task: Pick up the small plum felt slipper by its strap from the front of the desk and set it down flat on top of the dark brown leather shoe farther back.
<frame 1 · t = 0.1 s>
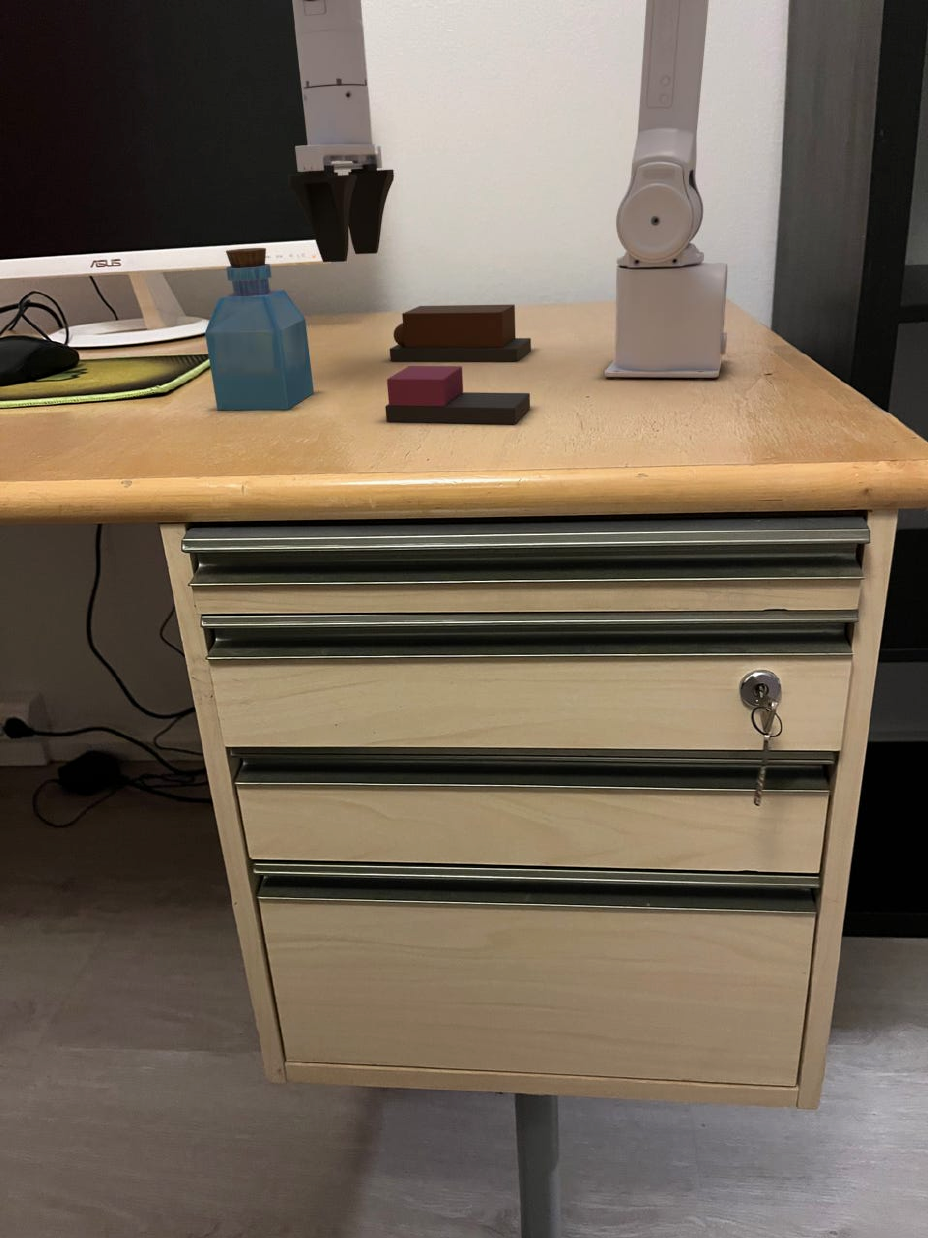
hand: (351, 257, 87), 10 cm above the table, tool pointing down, fingers open, 7 cm apart
perfume bottle: (267, 403, 81), on the table
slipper: (459, 414, 73), on the table
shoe: (461, 355, 96), on the table
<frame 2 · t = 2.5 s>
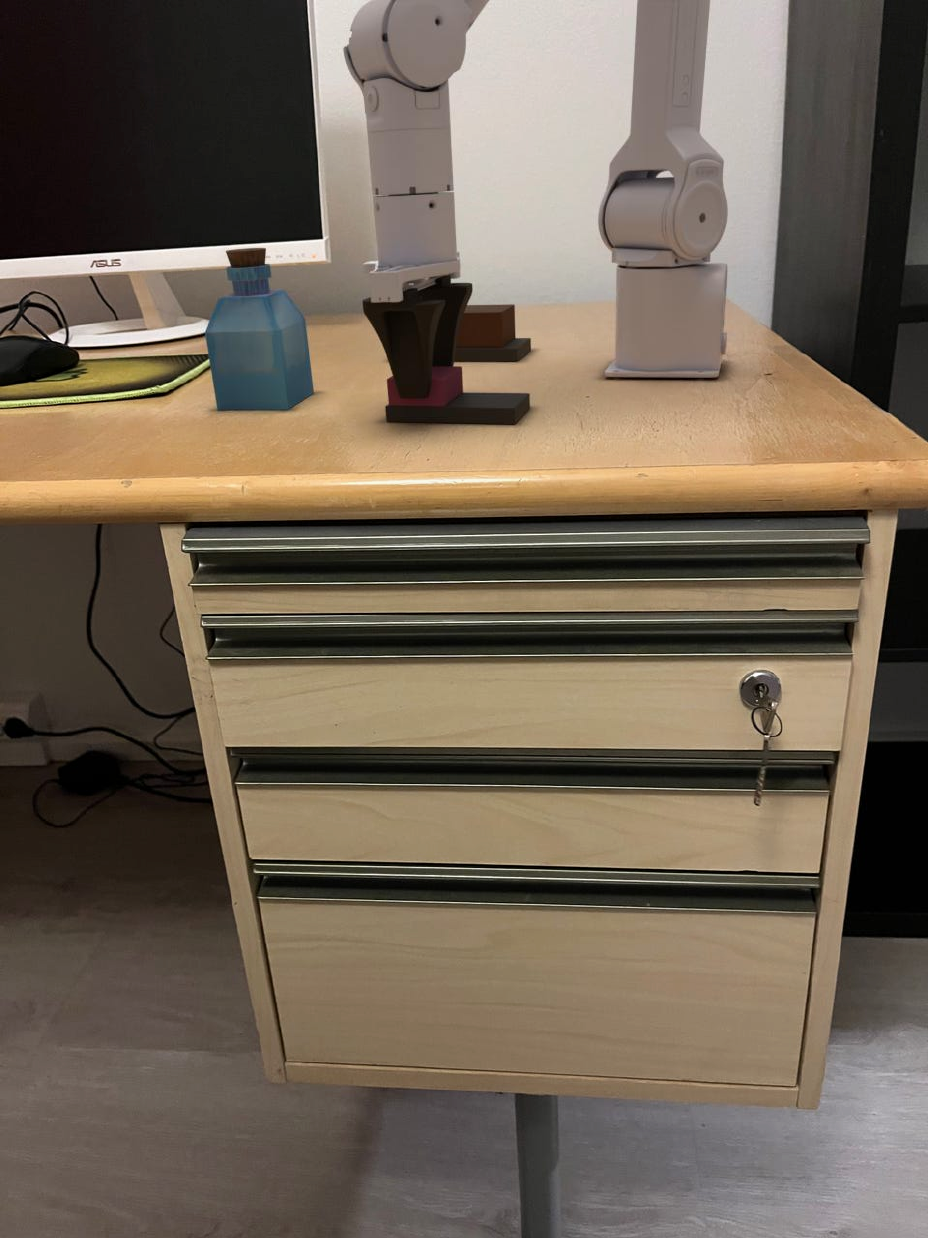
hand: (426, 389, 73), 2 cm above the table, tool pointing down, fingers closed on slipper, 5 cm apart
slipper: (458, 415, 73), on the table, touching gripper
everything else where it was.
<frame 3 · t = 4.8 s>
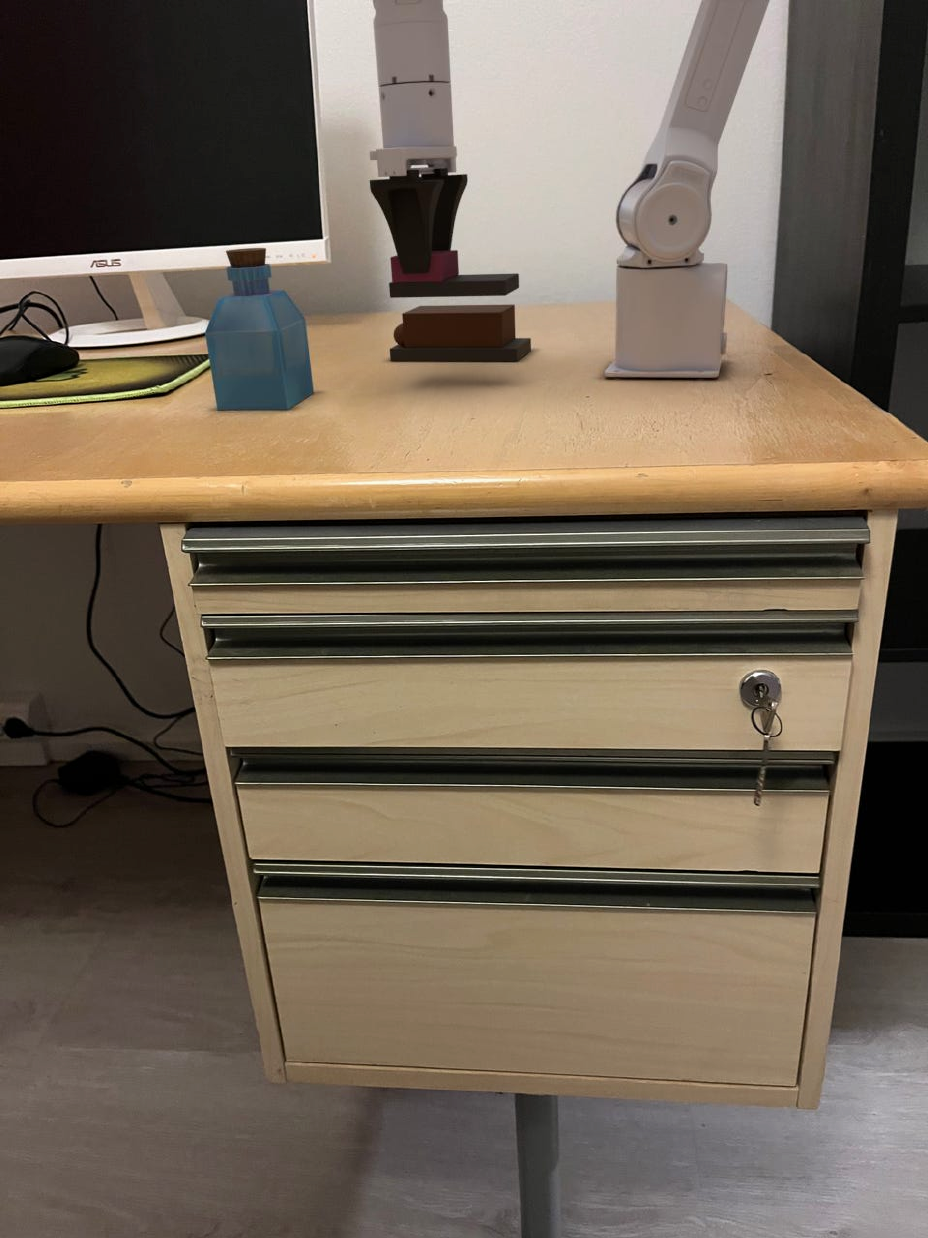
hand: (426, 269, 81), 9 cm above the table, tool pointing down, fingers closed on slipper, 5 cm apart
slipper: (455, 292, 81), point 7 cm above the table, touching gripper
everything else where it was.
when the fingers open (6 cm above the table, at t = 7.1 s): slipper stays where it is, resting on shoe.
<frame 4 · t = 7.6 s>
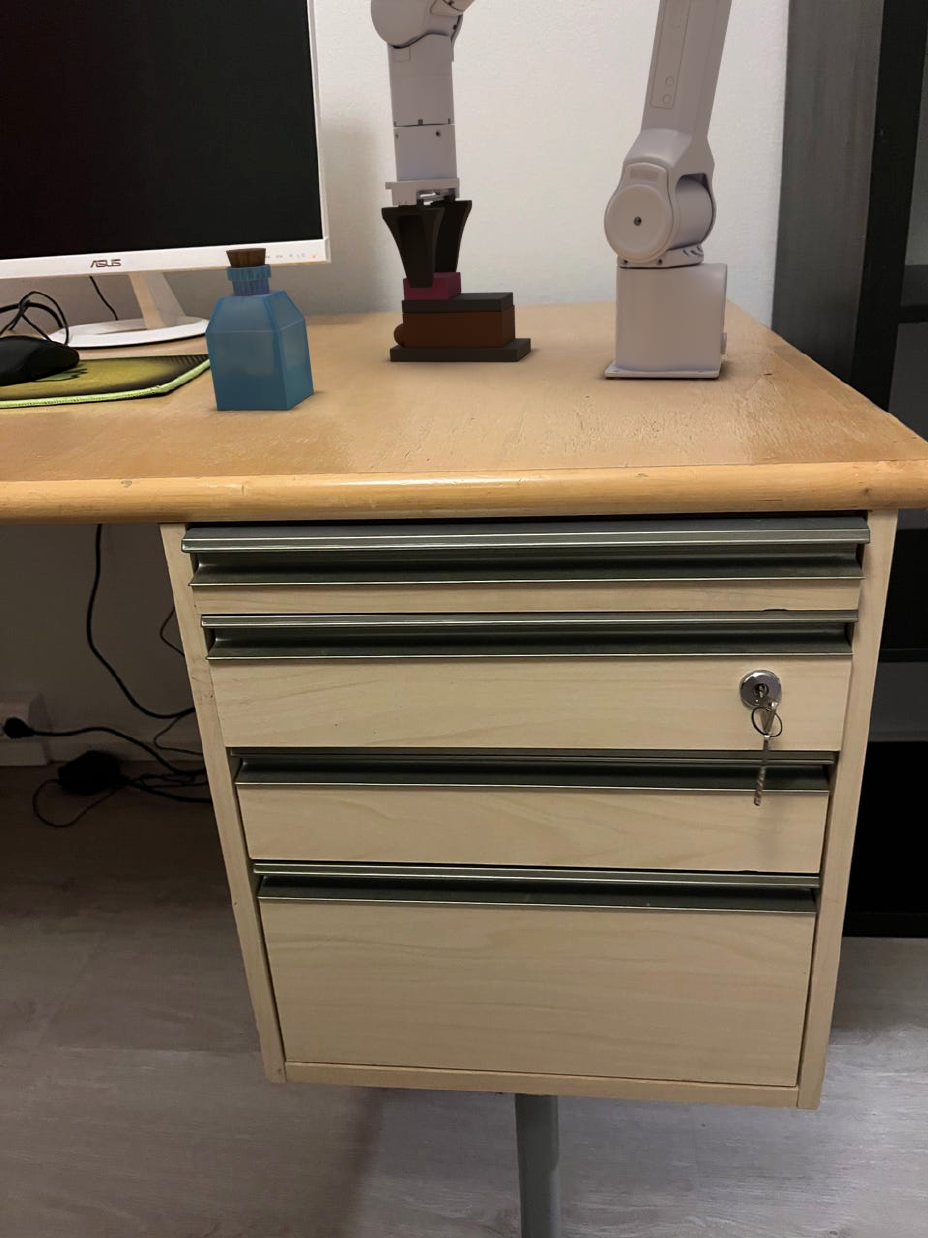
hand: (433, 282, 93), 7 cm above the table, tool pointing down, fingers open, 7 cm apart
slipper: (458, 308, 94), point 5 cm above the table, touching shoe
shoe: (461, 355, 96), on the table, touching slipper
everything else where it was.
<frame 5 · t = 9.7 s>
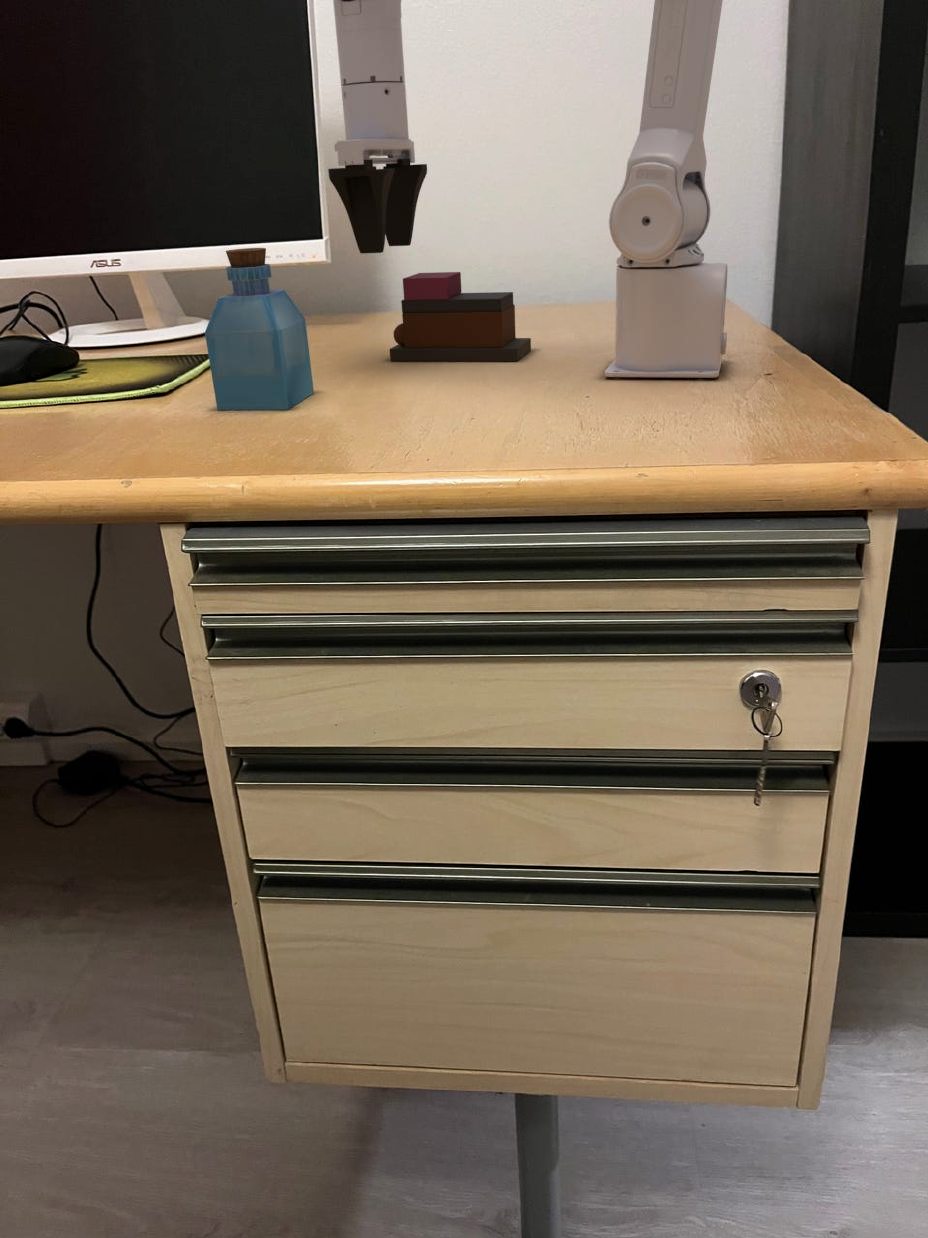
hand: (386, 249, 90), 10 cm above the table, tool pointing down, fingers open, 7 cm apart
nothing on the table moved.
at the end: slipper 0.1 cm off-centre on the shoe, point 4.5 cm above the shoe's base; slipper tilted 0°; the gripper is holding nothing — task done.
